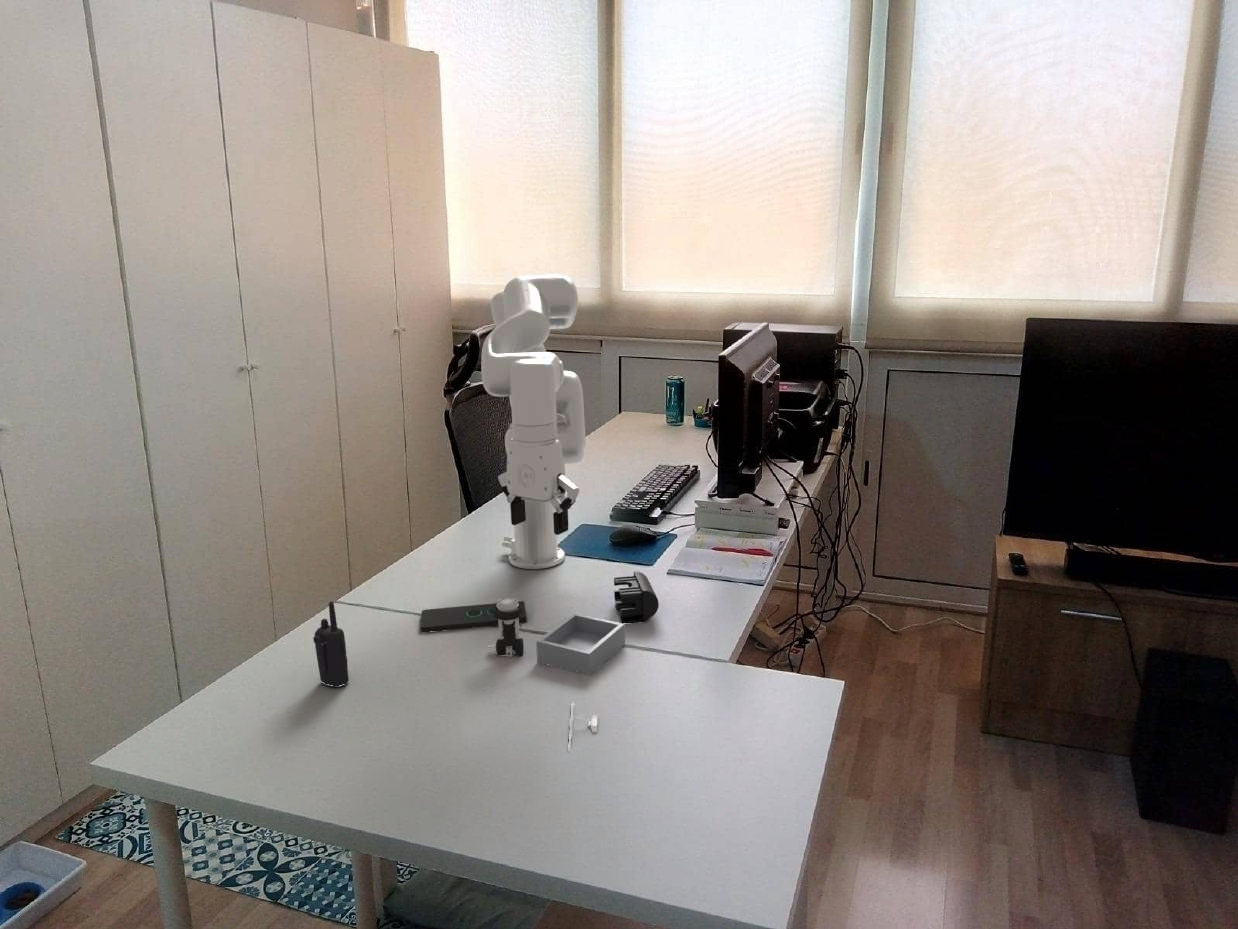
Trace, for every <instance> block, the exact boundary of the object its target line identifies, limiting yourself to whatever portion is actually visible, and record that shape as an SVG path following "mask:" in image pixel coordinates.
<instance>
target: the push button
mask: <svg viewBox="0 0 1238 929" xmlns="http://www.w3.org/2000/svg"><path fill="white" fill-rule="evenodd" d="M518 601H519V600H518V599H517V598H515V597H503V598H500V599H498V600H497V602H495V603H496V604H495V605H494V606H493V608H492V609H493V612H494V616H495V618H497V619H498V622H499V626H498V634H499V635H497V639H496V642H495V644H493V645H492V644H491V645H487V646H486V647H487V649H488V650H487V653H494V654H496V656H498V655H506V656H505V657H510V658H511V657H513V656H512V655H515V656H517V657H522V656H524V651H525V641H524V637H522V634H520V633H521V632H520V624H519V617H520V616H521V614H522V610H523V604H522V603H520V602H518ZM513 620H515V624H514V621H513ZM502 621H504V622H503V623H502ZM489 648H490V649H489ZM491 648H493V649H491Z"/></svg>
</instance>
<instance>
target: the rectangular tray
mask: <svg viewBox="0 0 1238 929" xmlns="http://www.w3.org/2000/svg"><path fill="white" fill-rule="evenodd" d="M625 626H626V624H622V623H621V622H617V621H612V620H607V619H603V618H600V617H594V616H589V615H586V614H580V613H577V612H572V614H571V615H569V616H568V617H566V618H565V619H564V620H562V621H561V622H560V623H558V624H557V625H556V626H555V627H553V628H552V629H551V630H549V631H548V632H547V633H545V634H544V635H543V636H541V637H540V638H538V639H537V640H536V642H535V643H536V660H537V663H539V662H540V664H544V665H547V664H549V665H548V666H551V665H552V666H551V667H555V668H559V667H561V668H560V669H563V668H564V669H563V670H567V669H568V670H567V671H571V670H572V672H574V671H577V672H576V673H578V672H580V673H579V674H582V673H583V675H586V674H589V675H588V676H591V675H592V674H593V673H595V672H596V669H597V668H598V667H599V668H600V667H601V666H602V665H604V664H605V663H606V662H607V661H608V660H609V659H610V658H611V657H612V656H614V655H615V654H616V653H617V652H618V651H619V650H621V648H623V647H624V646H625V645H626V630H625V628H626V627H625ZM605 661H606V662H605ZM599 668H598V669H599ZM598 669H597V670H598ZM590 674H591V675H590Z"/></svg>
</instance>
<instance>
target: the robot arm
mask: <svg viewBox="0 0 1238 929" xmlns="http://www.w3.org/2000/svg"><path fill="white" fill-rule="evenodd" d="M578 295H579V294H578V290H577V287H576V285H575V283H574V281H573V280H572V279H571V278H570V277H569V276H567V275H563V274H543V275H522V276H518V277H514V278H513V279H511V280H509V281H508V282H507V283H506V285H505V286H504V290H503V291H500V292H498V293H496V294H494V295H493V296H492V298H491V302H490V306H491V308H490V309H491V315H492V320H493V322H494V326H495V328H493V330H492V331H490V333H489V334H488V335H487V336H486V338H485V339H484V342H483V344H482V347H481V348H482V349H481V357H480V358H481V360H480V361H481V362H480V364H481V368H480V369H481V370H480V371H481V372H480V373H481V381H482V382H481V383H482V385H483V388H484V389H485V391H486V393H488V395H491V396H493V397H509V404H510V408H511V420H512V421H511V422H510V423H509V428H507V431H506V433H505V436H504V445H505V446H504V447H505V451H506V471H505V472H503V473H501V474H498V476H497V478H498V482H499V484H500V486H501V487H502V488H501V490H502V492H503V494H504V495H505V497H506V501H507V502H508V503H509V506H510V507H509V508H510V522H511V525H512V526H513V534H514V535H513V536H511V535H504V537H503V541H502V543H501V546H502V547H503V548H510V551H511V552H510V553H509V554H508V562H509V564H511V566H514V567H515V568H519V569H525V570H526V569H527V570H540V569H541V570H542V569H548V568H551V567H555V566H557V565H559V564H562V562H563V561H565V557H566V554H565V550H564V549H562V548H560V547H558V536H559V535H561V534H563V533H565V532H568V530H569V510H570V509H571V508H572V506H573V505H574V504H575V503H576V501H577V500H576V499H577V497H578V495H579V493H580V488H579V487H578V486H577V485H576V484H574V483H573V482H572V481H570V480H569V479H568V478H567V476H566V475H567V474H566V467H565V465H572V464H577V463H580V462H582V461H583V460H584V458H585V456H586V451H587V449H586V448H587V446H586V445H587V443H586V427H585V426H586V425H585V424H586V423H585V408H584V406H585V404H584V394H583V386H582V382H581V379H580V377H579V376H578V374H577V373H575V372H574V371H570V370H564V369H565V368H564V364H563V361H562V360H561V359H560V358H559V356H558V355H557V354H555V353H553V352H550V351H549V352H548V351H546V350H547V349H546V347H545V345H544V343H545V342H546V341H547V339H548V338H549V336H550V332H551V330H565V329H568V328H570V327H572V325H573V323H574V322H575V319H576V315H577V312H578V306H579V299H578V298H579V296H578ZM557 415H558V416H561V417H562V418H563V419H564V420H558V421H557ZM566 493H567V495H566Z"/></svg>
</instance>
